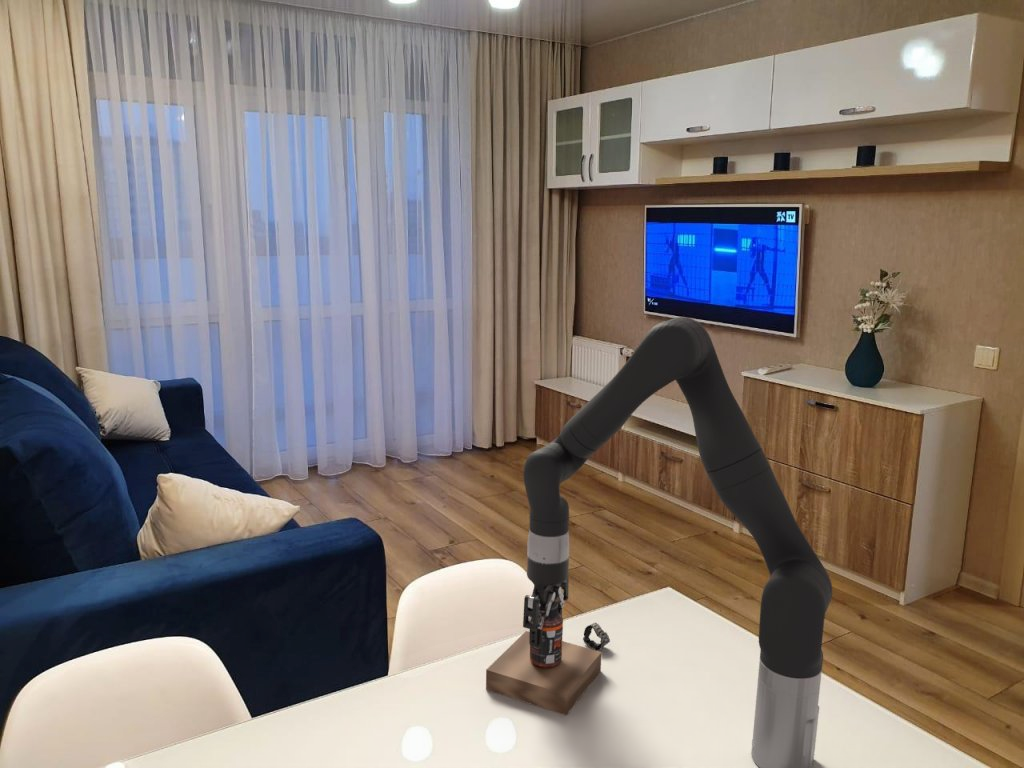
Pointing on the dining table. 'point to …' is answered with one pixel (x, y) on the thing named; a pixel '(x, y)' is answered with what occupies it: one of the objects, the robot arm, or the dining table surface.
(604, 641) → the wristwatch
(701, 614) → the dining table surface
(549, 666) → the supplement bottle
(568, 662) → the walnut block
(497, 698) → the dining table surface
